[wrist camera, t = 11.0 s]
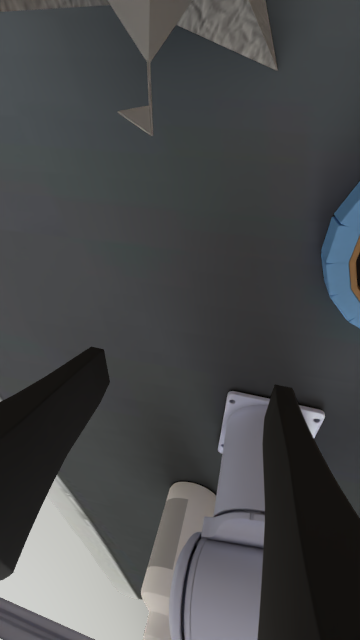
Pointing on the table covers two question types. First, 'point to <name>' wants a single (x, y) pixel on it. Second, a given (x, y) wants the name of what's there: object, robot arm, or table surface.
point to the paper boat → (187, 12)
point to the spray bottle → (172, 550)
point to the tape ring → (344, 257)
